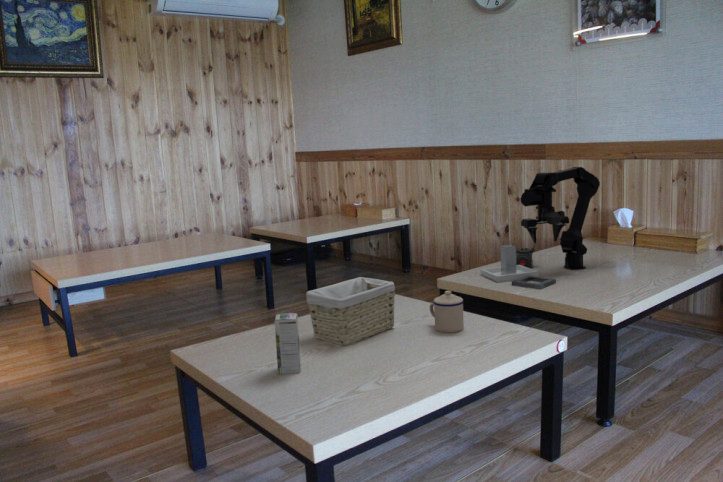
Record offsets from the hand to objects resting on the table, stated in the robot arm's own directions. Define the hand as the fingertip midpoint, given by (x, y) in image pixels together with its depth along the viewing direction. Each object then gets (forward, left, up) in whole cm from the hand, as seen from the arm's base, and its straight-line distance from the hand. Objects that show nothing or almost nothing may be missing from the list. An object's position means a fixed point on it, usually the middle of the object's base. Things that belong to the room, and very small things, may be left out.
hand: (545, 242), depth 244 cm
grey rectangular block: (+15, -3, -12) cm, 20 cm away
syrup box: (+114, +65, -13) cm, 132 cm away
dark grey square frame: (+13, +13, -13) cm, 22 cm away
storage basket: (+91, +42, -13) cm, 101 cm away
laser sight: (-1, -19, -13) cm, 24 cm away
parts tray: (+15, -3, -13) cm, 20 cm away
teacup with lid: (+64, +49, -13) cm, 82 cm away
